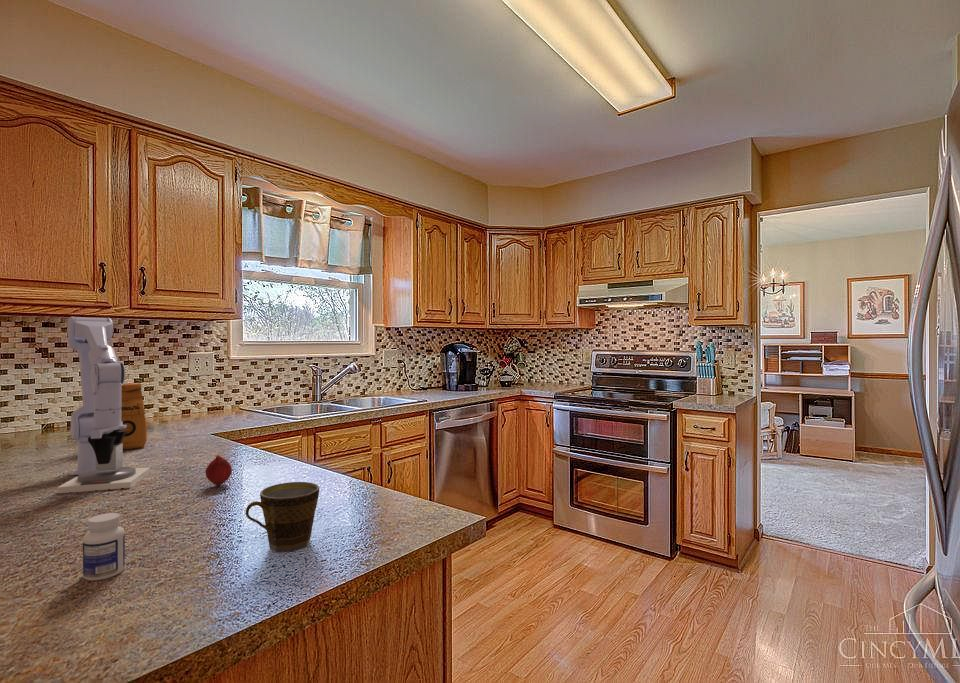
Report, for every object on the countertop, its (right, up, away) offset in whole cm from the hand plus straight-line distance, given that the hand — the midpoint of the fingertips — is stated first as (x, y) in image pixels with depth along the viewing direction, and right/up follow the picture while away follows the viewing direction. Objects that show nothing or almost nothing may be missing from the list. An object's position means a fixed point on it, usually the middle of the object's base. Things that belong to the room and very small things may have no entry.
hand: (107, 461), depth 127 cm
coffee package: (-25, -6, +40) cm, 48 cm away
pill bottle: (+37, -6, -50) cm, 63 cm away
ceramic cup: (+61, -6, -40) cm, 73 cm away
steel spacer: (0, -2, 0) cm, 2 cm away
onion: (+30, -6, -3) cm, 31 cm away
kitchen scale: (0, -5, 0) cm, 5 cm away
